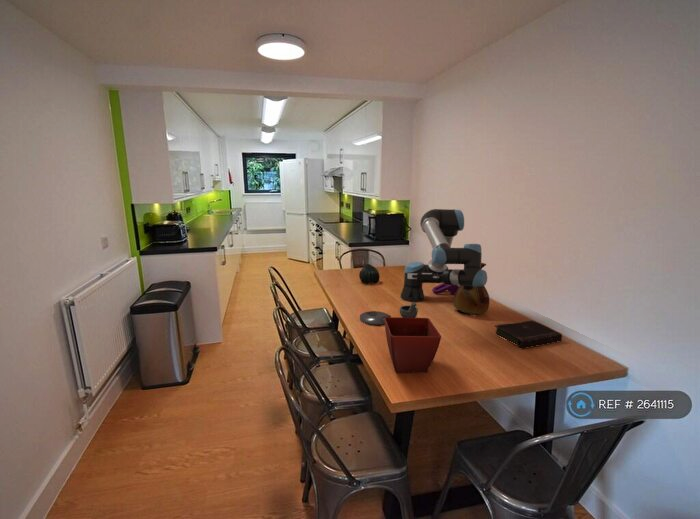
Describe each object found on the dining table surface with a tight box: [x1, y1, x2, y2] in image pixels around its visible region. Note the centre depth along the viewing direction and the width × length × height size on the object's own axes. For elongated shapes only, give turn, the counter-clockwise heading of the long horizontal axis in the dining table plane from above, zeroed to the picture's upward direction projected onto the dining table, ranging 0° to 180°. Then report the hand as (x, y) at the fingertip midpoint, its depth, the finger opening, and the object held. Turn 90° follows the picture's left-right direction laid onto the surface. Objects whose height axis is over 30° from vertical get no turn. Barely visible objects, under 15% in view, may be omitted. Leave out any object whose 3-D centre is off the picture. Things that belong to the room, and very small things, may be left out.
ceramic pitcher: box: [452, 262, 490, 316], centre depth 197 cm, size 20×20×30 cm
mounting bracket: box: [431, 283, 461, 296], centre depth 234 cm, size 10×8×18 cm
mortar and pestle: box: [399, 302, 419, 318], centre depth 183 cm, size 11×9×12 cm
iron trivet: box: [359, 310, 392, 327], centre depth 186 cm, size 17×17×2 cm
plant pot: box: [384, 316, 442, 374], centre depth 138 cm, size 19×19×17 cm
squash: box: [358, 263, 381, 285], centre depth 254 cm, size 14×15×15 cm
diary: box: [494, 320, 563, 349], centre depth 167 cm, size 19×25×5 cm
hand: (415, 275), depth 179 cm, fingers open, 13 cm apart
